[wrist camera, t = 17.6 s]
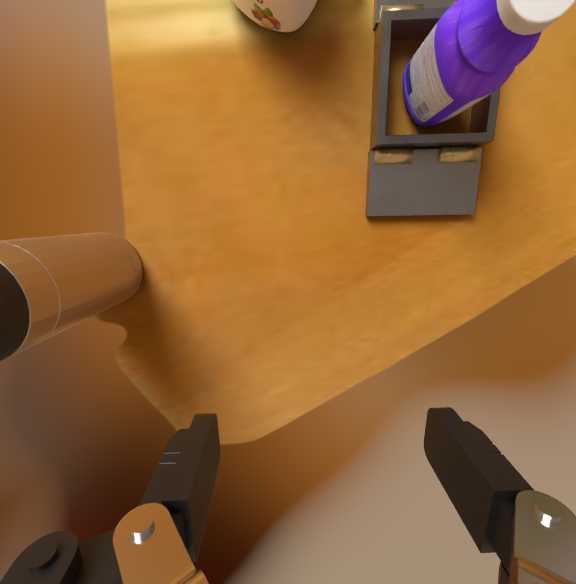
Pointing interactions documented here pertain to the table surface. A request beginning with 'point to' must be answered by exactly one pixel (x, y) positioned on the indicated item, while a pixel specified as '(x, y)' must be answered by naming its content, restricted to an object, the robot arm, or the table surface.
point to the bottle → (473, 54)
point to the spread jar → (277, 13)
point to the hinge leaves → (423, 147)
